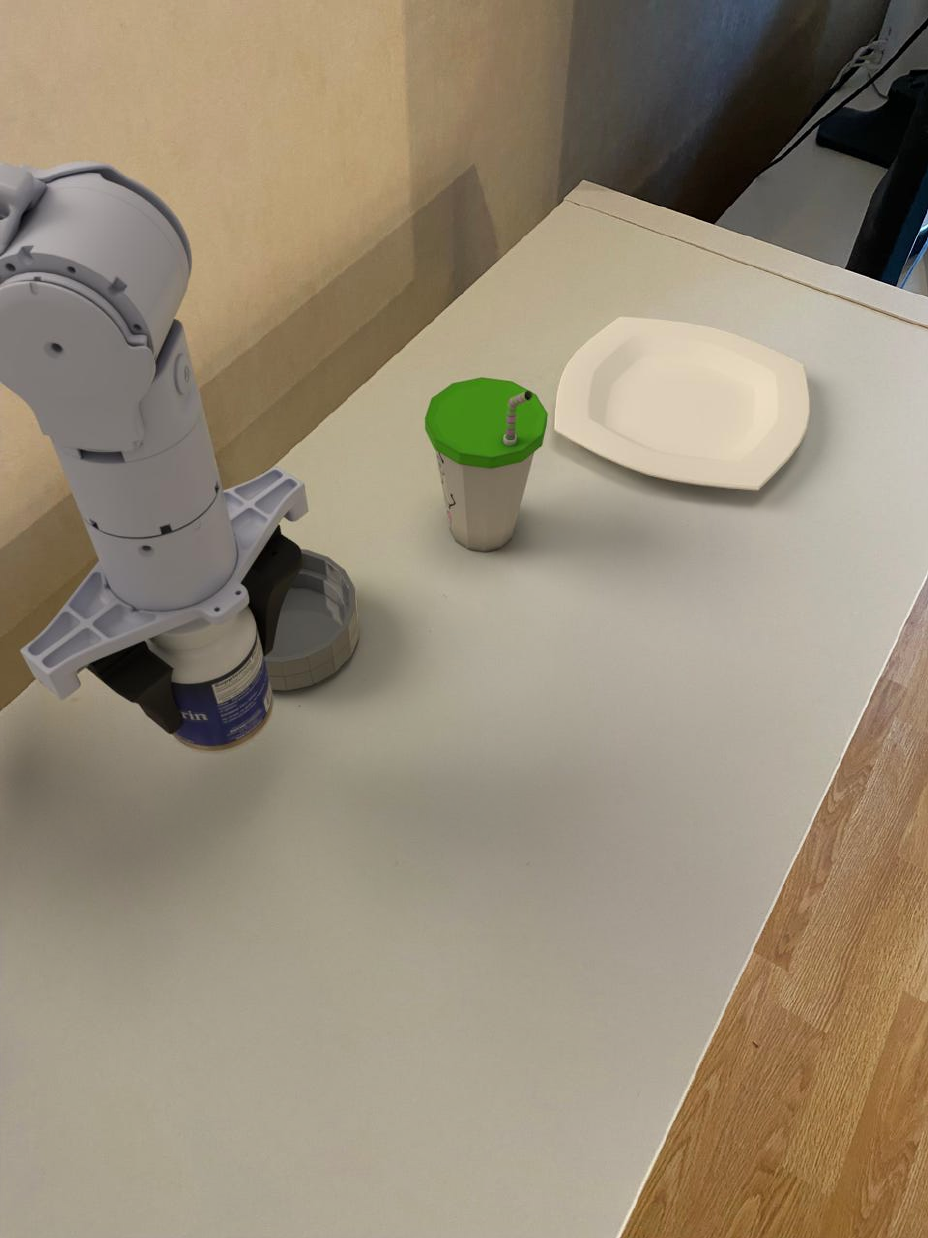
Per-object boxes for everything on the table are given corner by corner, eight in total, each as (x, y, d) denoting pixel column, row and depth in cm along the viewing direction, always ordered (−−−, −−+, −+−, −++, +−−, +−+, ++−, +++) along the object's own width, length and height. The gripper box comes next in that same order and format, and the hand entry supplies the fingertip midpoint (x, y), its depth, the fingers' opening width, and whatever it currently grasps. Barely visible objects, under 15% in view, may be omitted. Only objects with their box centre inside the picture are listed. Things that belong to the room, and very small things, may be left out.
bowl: (213, 701, 63) (203, 668, 60) (220, 587, 69) (211, 552, 66) (362, 689, 64) (358, 656, 61) (356, 577, 69) (352, 542, 67)
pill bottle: (143, 720, 54) (92, 600, 46) (221, 652, 57) (185, 528, 49) (221, 778, 52) (180, 663, 44) (297, 704, 55) (272, 583, 47)
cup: (427, 490, 75) (423, 315, 63) (533, 489, 75) (548, 315, 63) (427, 570, 70) (423, 396, 58) (540, 569, 70) (559, 395, 58)
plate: (772, 530, 73) (779, 510, 71) (521, 455, 77) (523, 435, 76) (824, 376, 84) (831, 356, 82) (602, 318, 88) (605, 299, 87)
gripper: (62, 647, 36) (149, 825, 47) (344, 439, 43) (364, 634, 54) (-52, 553, 39) (55, 741, 50) (231, 372, 46) (271, 570, 57)
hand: (210, 681), depth 52 cm, fingers closed on pill bottle, 5 cm apart
